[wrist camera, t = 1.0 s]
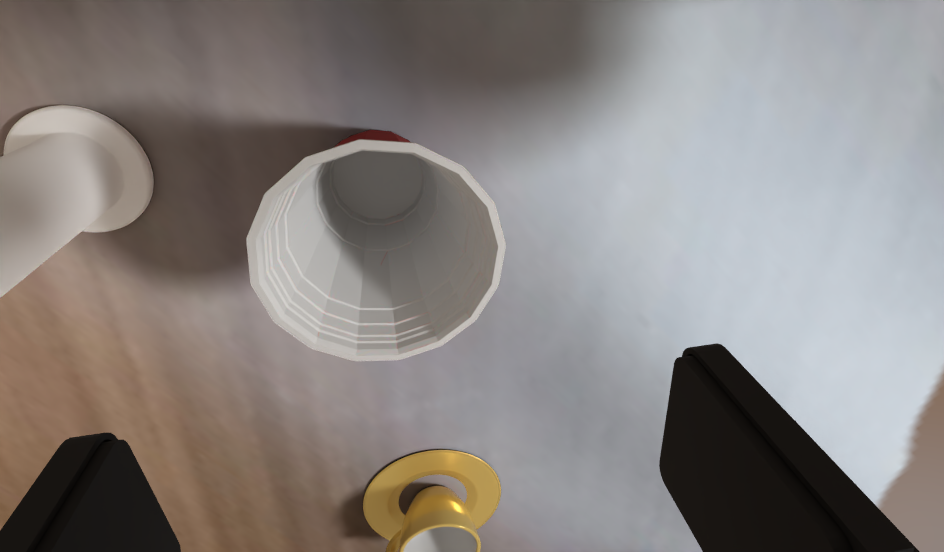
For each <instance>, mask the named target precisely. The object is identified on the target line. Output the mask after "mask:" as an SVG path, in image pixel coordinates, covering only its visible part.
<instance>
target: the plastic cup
mask: <svg viewBox="0 0 944 552" xmlns="http://www.w3.org/2000/svg"><path fill="white" fill-rule="evenodd" d="M246 242H247V253H248V263H249V273H250V284H251V286H252V288H253V289H254V291H255V292H256V294H257V296H258V297H259V299H260V300H261V302H262V304H263V305H264V307H265V309H266V310H267V312H268V313H269V315H270V317H271V318H272V320H273V321H274V323H276V324H277V325H278V326H280V327H281V328H283V329H284V330H285V331H287V332H288V333H290V334H291V335H292V336H294V337H295V338H297V339H298V340H299V341H301V342H302V343H304V344H305V345H306V346H308V347H309V348H311V349H314V350H317V351H321V352H324V353H328V354H331V355H334V356H338V357H341V358H345V359H348V360H352V361H384V360H401V359H404V358H407V357H410V356H413V355H416V354H419V353H422V352H425V351H428V350H431V349H434V348H437V347H440V346H442V345H444V344H445V343H446V342H448V341H449V340H450V339H452V338H453V337H454V336H456V335H457V334H458V333H460V332H461V331H462V330H464V329H465V328H466V327H468V326H469V325H470V324H472V323H473V322H474V321H476V319H477V318H478V316H479V315H480V313H481V312H482V310H483V309H484V307H485V306H486V304H487V303H488V301H489V300H490V298H491V297H492V295H493V294H494V292H495V290H496V289H497V287H498V286H499V281H500V275H501V270H502V264H503V259H504V253H505V248H506V243H505V239H504V236H503V232H502V228H501V224H500V221H499V217H498V213H497V209H496V206H495V203H494V202H493V200H492V199H491V198H490V197H489V196H488V194H487V193H486V192H485V191H484V190H483V189H482V187H481V186H480V185H479V184H478V183H477V181H476V180H475V179H474V178H473V177H472V176H471V174H470V173H469V172H468V171H467V170H466V168H465V167H464V166H461V165H459V164H457V163H455V162H453V161H451V160H449V159H447V158H445V157H443V156H441V155H439V154H437V153H435V152H433V151H431V150H429V149H427V148H425V147H423V146H420V145H418V144H416V143H411V142H410V141H409V140H407V139H405V138H403V137H401V136H399V135H397V134H395V133H393V132H391V131H379V130H368V131H364V132H361V133H358V134H355V135H352V136H350V137H349V138H347V139H344V140H342V141H341V142H339V143H338V144H337V145H336V146H335V147H334V148H331V149H328V150H325V151H322V152H319V153H316V154H313V155H310V156H307V157H305V158H304V159H303V160H302V161H301V162H299V163H298V164H297V165H296V166H295V167H294V168H293V169H292V170H290V171H289V172H288V173H287V174H286V175H285V176H284V177H283V178H281V179H280V180H279V181H278V182H277V183H276V184H275V185H274V186H272V187H271V188H270V189H269V190H268V191H267V192H266V193H265V194H264V196H263V199H262V201H261V204H260V206H259V209H258V211H257V213H256V216H255V218H254V221H253V223H252V226H251V228H250V231H249V233H248V236H247V238H246Z"/></svg>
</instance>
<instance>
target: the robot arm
mask: <svg viewBox="0 0 944 552" xmlns="http://www.w3.org/2000/svg"><path fill="white" fill-rule="evenodd" d="M659 466H660V472H661V476H662V479H663V482H664V484H665V486H666V487H667V489H668V491H669V493H670V494H671V496H672V498H673V500H674V501H675V503H676V505H677V507H678V508H679V510H680V512H681V514H682V515H683V517H684V519H685V521H686V523H687V524H688V526H689V528H690V530H691V531H692V533H693V535H694V537H695V538H696V540H697V542H698V544H699V545H700V547H701V549H702V551H703V552H919V551H918V550H917V549H916V548H915V546H913V544H912V543H911V542H909V540H908V539H907V538H906V537H905V536H904V535H903V534H902V533H901V532H900V531H899V530H898V529H897V528H896V527H895V525H894V524H893V523H892V522H891V521H890V520H889V519H888V518H887V517H886V516H885V515H884V514H883V513H882V512H881V511H880V510H879V509H878V508H877V506H876V505H875V504H874V503H873V502H872V501H871V500H870V499H869V498H868V497H867V496H866V495H865V494H864V493H863V492H862V491H861V490H860V489H859V488H858V487H857V485H856V484H855V483H854V482H853V481H852V480H851V479H850V478H849V477H848V476H847V475H846V474H845V473H844V472H843V471H842V470H841V469H840V468H839V467H838V466H837V464H836V463H835V462H834V461H833V460H832V459H831V458H830V457H829V456H828V455H827V454H826V453H825V452H824V451H823V450H822V449H821V448H820V447H819V446H818V444H817V443H816V442H815V441H814V440H813V439H812V438H811V437H810V436H809V435H808V434H807V433H806V432H805V431H804V430H803V429H802V428H801V427H800V426H799V425H798V423H797V422H796V421H795V420H794V419H793V418H792V417H791V416H790V415H789V414H788V413H787V412H786V411H785V410H784V409H783V408H782V407H781V406H780V405H779V404H778V403H777V402H776V401H775V400H774V398H773V397H772V396H771V395H770V394H769V393H768V392H767V391H766V390H765V389H764V388H763V387H762V386H761V385H760V384H759V383H758V382H757V381H756V380H755V378H754V377H753V376H752V375H751V374H750V373H749V372H748V371H747V370H746V369H745V368H744V367H743V366H742V365H741V364H740V363H739V362H738V361H737V360H736V359H735V357H734V356H733V355H732V354H731V353H730V352H729V351H728V350H727V349H726V348H725V347H724V346H722V345H721V344H711V345H704V346H697V347H690V348H687V349H685V350H684V352H683V355H682V357H679V358H677V359H676V360H675V363H674V368H673V375H672V382H671V388H670V395H669V402H668V409H667V415H666V422H665V429H664V435H663V442H662V449H661V456H660V465H659ZM0 552H181V549H180V544H179V542H178V540H177V538H176V536H175V534H174V532H173V530H172V528H171V526H170V524H169V522H168V520H167V518H166V516H165V514H164V512H163V510H162V509H161V507H160V505H159V503H158V501H157V499H156V497H155V495H154V493H153V491H152V489H151V487H150V485H149V483H148V481H147V479H146V477H145V475H144V473H143V472H142V470H141V468H140V466H139V464H138V462H137V460H136V458H135V456H134V454H133V452H132V450H131V448H130V446H129V445H128V443H127V442H126V441H124V440H118V439H117V438H116V436H115V435H113V434H112V433H100V434H93V435H86V436H80V437H73V438H69V439H67V440H65V441H64V442H63V443H62V444H61V445H60V447H59V448H58V449H57V451H56V452H55V454H54V455H53V456H52V458H51V459H50V461H49V462H48V464H47V465H46V466H45V468H44V469H43V471H42V472H41V474H40V475H39V476H38V478H37V479H36V481H35V482H34V484H33V485H32V486H31V488H30V489H29V491H28V492H27V493H26V495H25V496H24V498H23V499H22V501H21V502H20V503H19V505H18V506H17V508H16V509H15V511H14V512H13V513H12V515H11V516H10V518H9V519H8V521H7V522H6V523H5V525H4V526H3V528H2V529H1V530H0Z"/></svg>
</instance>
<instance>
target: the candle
mask: <svg viewBox="0 0 944 552" xmlns="http://www.w3.org/2000/svg"><path fill="white" fill-rule="evenodd" d="M153 187H154V178H153V171H152V168H151V164H150V162H149V159H148V157H147V155H146V153H145V152H144V150H143V148H142V147H141V145H140V144H139V143H138V142H137V140H136V139H135V138H134V137H133V136H132V135H131V134H130V133H129V132H128V131H127V130H126V129H125V128H123V127H122V126H121V125H119V124H118V123H117V122H115V121H114V120H112V119H110V118H109V117H107V116H105V115H103V114H100V113H98V112H96V111H93V110H90V109H86V108H82V107H77V106H69V105H56V106H49V107H44V108H41V109H38V110H35V111H33V112H31V113H28V114H27V115H25V116H23V117H22V118H21V119H20V120H18V121H17V122H16V123H15V124H14V126H13V127H12V128H11V130H10V131H9V133H8V135H7V138H6V140H5V145H4V156H1V157H0V298H1V297H2V296H3V295H5V294H6V293H7V292H8V291H9V290H11V289H12V288H13V287H14V286H16V285H17V284H18V283H19V282H20V281H22V280H23V279H24V278H25V277H27V276H28V275H29V274H30V273H31V272H33V271H34V270H35V269H36V268H38V267H39V266H40V265H41V264H42V263H44V262H45V261H46V260H47V259H49V258H50V257H51V256H52V255H53V254H55V253H56V252H57V251H58V250H59V249H61V248H62V247H63V246H64V245H66V244H67V243H68V242H69V241H70V240H72V239H73V238H74V237H75V236H77V235H78V234H79V233H80V232H81V231H83V232H94V233H96V232H108V231H113V230H116V229H120V228H122V227H124V226H127V225H128V224H130V223H132V222H133V221H134V220H136V219H137V218H138V217H139V216H140V215H141V214H142V213H143V212H144V210H145V209H146V208H147V206H148V204H149V202H150V200H151V197H152V194H153Z"/></svg>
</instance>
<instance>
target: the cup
mask: <svg viewBox="0 0 944 552" xmlns="http://www.w3.org/2000/svg"><path fill="white" fill-rule="evenodd" d="M436 474H440V475H448V476H451V477H454V478H456V479H458V480H459V481H461V482H462V483H463V485H464V486H465V488H466V490H467V500H466V502H465V504H464V503H463V501H462V500H461V499H460V498H459V497H458V496H457V495H456V494H455V493H454V492H453V491H452V490H451V489H449V488H447V487H443V486H431V487H428V488H425V489H423V490H422V491H420V492H419V493H418V494H417V495H416V496H415V497H414V499H413V501H412V503H411V504H410V506H409V508H408V510H407V512H406V515H404V514H403V513H402V512H401V510H400V508H399V496H400V494H401V492H402V491H403V489H404V488H405V487H406V486H407V485H408V484H410V483H411V482H413V481H414V480H416V479H418V478H421V477H424V476H428V475H436ZM500 496H501V486H500V481H499V479H498V476H497V474H496V473H495V471H494V470H493V469H492V468H491V467H490V466H489V465H488V464H487V463H486V462H484V461H483V460H481V459H479V458H477V457H475V456H473V455H470V454H467V453H464V452H459V451H453V450H432V451H425V452H420V453H416V454H413V455H410V456H407V457H404V458H402V459H400V460H398V461H396V462H394V463H392V464H391V465H389V466H388V467H386V468H385V469H383V470H382V471H381V472H380V473H379V474H378V475H377V476H376V477H375V478H374V479H373V480H372V482H371V483H370V485H369V486H368V488H367V490H366V493H365V496H364V500H363V511H364V515H365V518H366V520H367V522H368V524H369V525H370V526H371V528H372V529H373V530H374V531H375V532H377V533H378V534H379V535H381V536H382V537H384V538H386V539H388V540H390V542H389V543H388V546H387V548H386V552H397V551H398V549H399V552H480V548H481V543H480V539H479V536H478V533H477V529H478V528H480V527H481V526H482V525H483V524H484V523H485V522H487V520H488V519H489V518H490V517H491V516H492V515H493V513H494V512H495V510H496V508H497V506H498V504H499V501H500ZM399 547H400V548H399Z"/></svg>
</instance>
